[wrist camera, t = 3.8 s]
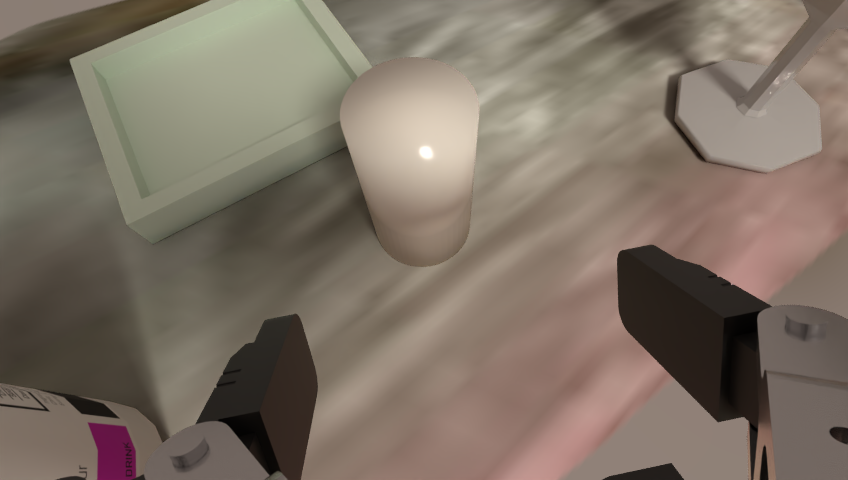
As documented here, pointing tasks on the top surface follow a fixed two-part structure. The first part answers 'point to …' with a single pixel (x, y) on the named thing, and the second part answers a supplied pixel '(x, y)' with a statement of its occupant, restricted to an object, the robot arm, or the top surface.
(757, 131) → the wineglass
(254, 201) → the top surface
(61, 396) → the supplement can
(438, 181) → the white domed cylinder
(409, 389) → the top surface
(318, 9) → the tray
